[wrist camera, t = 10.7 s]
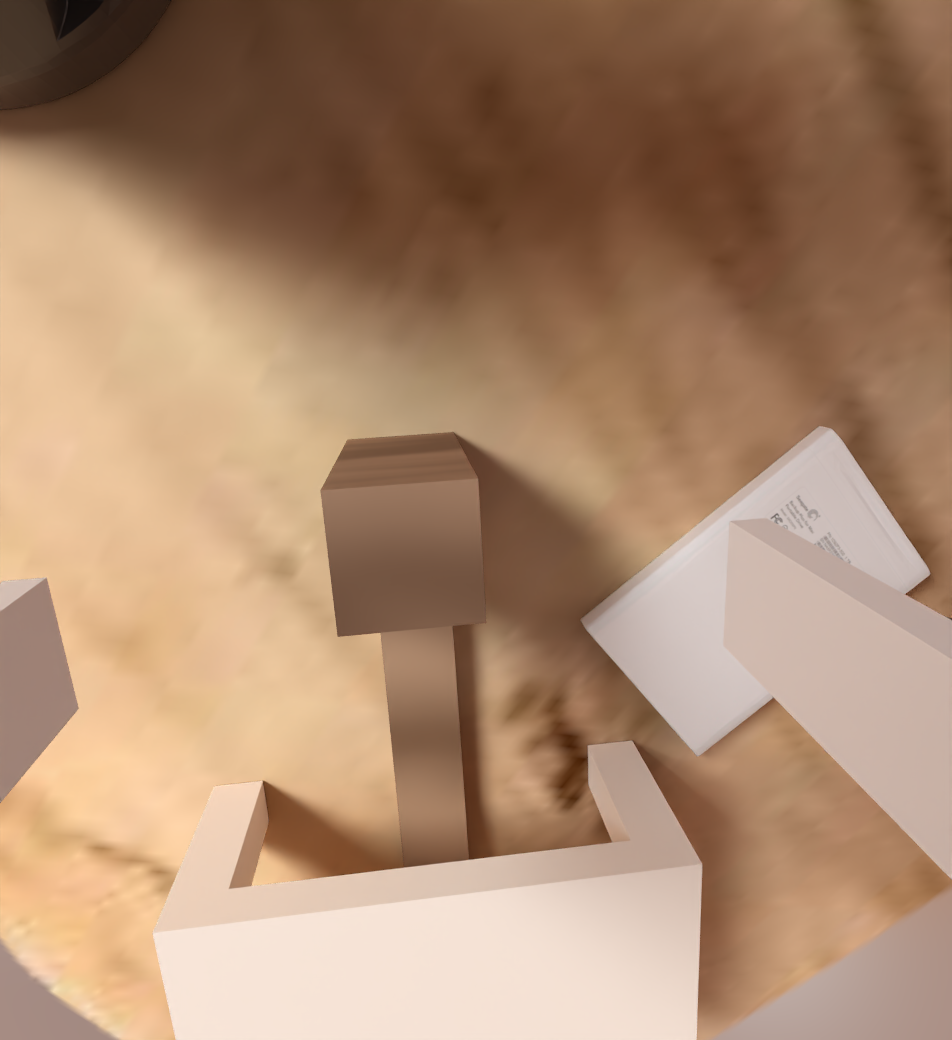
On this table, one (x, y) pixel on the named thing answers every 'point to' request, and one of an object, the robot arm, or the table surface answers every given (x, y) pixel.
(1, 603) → the robot arm
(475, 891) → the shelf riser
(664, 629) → the external hard drive
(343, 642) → the table surface
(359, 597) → the walnut paddle
